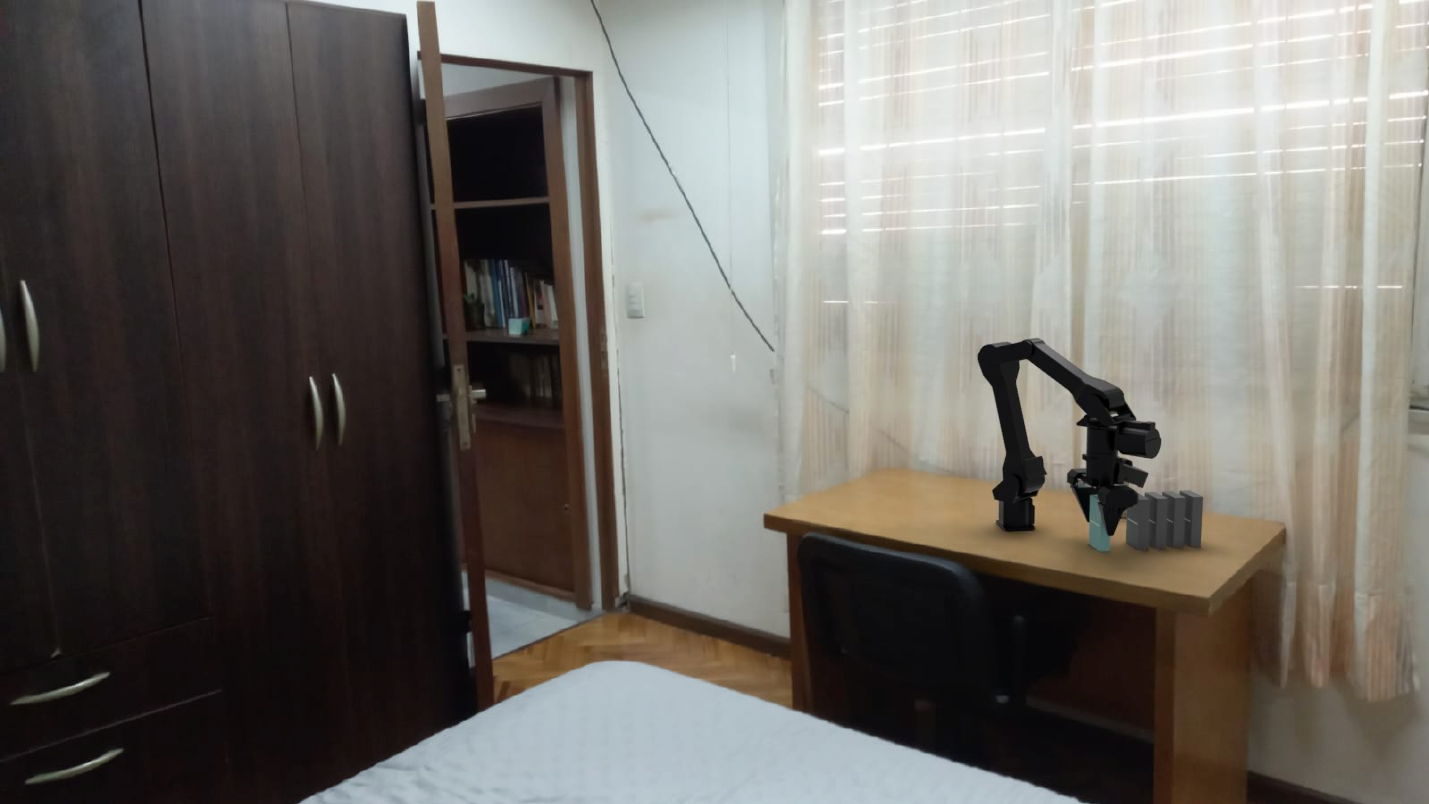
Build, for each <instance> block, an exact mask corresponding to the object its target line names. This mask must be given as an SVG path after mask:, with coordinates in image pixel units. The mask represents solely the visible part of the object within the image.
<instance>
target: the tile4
mask: <svg viewBox="0 0 1429 804" xmlns="http://www.w3.org/2000/svg"><path fill="white" fill-rule="evenodd" d="M1161 495H1162V496H1164V497H1166V498H1168V500H1167V526H1166V545H1168V546H1169V547H1171V548H1172V549H1175V548H1177V549H1179V548H1184V543H1183V542H1184V519H1185V497H1183V496H1181V495H1179V493H1177V492H1175V491H1172V490H1169V491H1167V490H1166V491H1162V492H1161Z"/></svg>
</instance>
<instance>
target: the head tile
mask: <svg viewBox="0 0 1429 804" xmlns="http://www.w3.org/2000/svg"><path fill="white" fill-rule="evenodd" d="M1097 502H1099V499H1098V495H1090V521H1089V522H1088V524H1089V527H1088V528H1089V529H1088V530H1089V532H1088V544H1089V546H1091V547H1093V548H1094V549H1095V550H1097V551H1098V552H1099V553H1100V552H1101V553H1102V552H1111V536H1108V535H1107V533H1106V530H1105V527H1104V523H1103V520H1102V517H1101V513H1100V510H1099V507H1098V503H1097Z"/></svg>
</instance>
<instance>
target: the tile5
mask: <svg viewBox="0 0 1429 804" xmlns="http://www.w3.org/2000/svg"><path fill="white" fill-rule="evenodd" d="M1178 494H1179V495H1181V496H1183V497H1185V519H1184V542H1183V544H1185V545H1187V546H1189V547H1190V548H1197V547H1199V548H1200V547H1202V533H1203V532H1202V530H1203V529H1202V527H1203V511H1204V510H1203V509H1204V508H1203V507H1204V496H1203V495H1201V494H1198V493H1197V492H1194V491H1192V490H1190V489H1186V490H1185V489H1184V490H1179V493H1178Z"/></svg>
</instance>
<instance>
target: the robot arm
mask: <svg viewBox="0 0 1429 804" xmlns="http://www.w3.org/2000/svg"><path fill="white" fill-rule="evenodd" d="M976 357H977V363H978V366H979V369H980V371H981V373H982V376H983V377H984V379H985V380H986V381H987V382H988V383H989V384H990V386H991V388H992V392H993V398H994V403H995V406H996V412H997V416H998V421H999V426H1000V431H1001V435H1002V440H1003V445H1004V450H1005V457H1004V461H1003V464H1002V467H1001V470H1002V480H1001V481H1000V482H999V483H998V484H997V485H996V486H995V487H993V489H992V490H991V492H992V495H993V499H994V501H998V519H996V520H995V524H997V525H998V527H1000V528H1001V529H1003V530H1004V531H1005V532H1007V531H1010V532H1011V531H1030V530H1032V531H1033V530H1036V526H1035V524H1036V523H1035V522H1036V517H1035V516H1036V506H1035V504H1033V503H1034V501H1033V500H1034V499H1033V497H1034V498H1035V497H1038V494H1039V491H1040V490H1041V488H1042V487H1043V486H1044V484H1045V483H1046V476H1047V475H1048V472H1047V471H1046V468H1045V463H1044V458H1043V456H1042V455H1039V456H1036V455H1035V453H1034V452H1033V451H1032V450H1031V447H1030V443H1029V437H1028V432H1027V428H1026V424H1025V423H1026V422H1025V418H1024V414H1023V411H1022V410H1023V409H1022V404H1021V400H1020V396H1019V391H1018V385H1017V380H1018V376H1019V373H1020V369H1021V367H1020V366H1021V365H1020V361H1023V360H1025V361H1026V360H1027V361H1028V362H1030V363H1031V364H1033V366H1035V367H1036V368H1038V369H1039V370H1040V371H1041V372H1043V373H1044V374H1046V375H1047V376H1048V377H1049V378H1051V379H1052V380H1054V382H1056V383H1058V384H1059V385H1060V386H1061V387H1063V388H1064V389H1065V390H1067V391H1068V393H1070V394H1071V395H1072V397H1073V399H1074V402H1075V403H1076V405H1077V406H1078V407H1079V408H1080V409H1081V410H1082V411H1083V412H1084V413H1085V414H1084V415H1083V417H1082V418H1081V419H1079V420H1078V421H1077V422H1076V423H1075V424H1076V427H1083V428H1086V443H1085V444H1086V445H1085V446H1086V447H1085V449H1086V451H1085V453H1082V455H1081V459H1082V460H1083V461H1085V468H1082V467H1081V468H1071V469H1070V470H1069V471H1068V472H1067V473H1066V483H1067V484H1070V485H1069V488H1070V489H1071V491H1072V493H1073V494H1074V496H1075V498H1076V500H1077V503H1078V505H1079V507H1080V510H1081V512H1082V514H1083V517H1084V519H1085V521H1086V522H1087V523H1089V521H1090V495H1098V499H1099V502H1097V503H1098V507H1099V510H1100V513H1101V517H1102V520H1103V523H1104V527H1105V530H1106V533H1107V535H1108V536H1110V537H1113V536H1114V535H1115V534H1116V531H1117V528H1118V527H1119V523H1120V521H1121V518H1122V517H1121V516H1122V514H1123V512H1124V511H1125V510H1126V509H1128V508H1129V507H1133V506H1134V505H1136V504H1138V493H1139V492H1137V491H1136V490H1135V489H1133V487H1130V486H1129V487H1128V486H1126V485H1123V484H1124V481H1125V482H1128V483H1129V484H1131V485H1135V486H1137V487H1138V488H1140V489H1144V486H1145V483H1146V482H1147V480H1148V476H1149V472H1148V471H1146V470H1143V469H1141V468H1139V467H1136V466H1134V464H1133V461H1132V460H1131V459H1128V458H1125V457H1122V456H1119V454H1121V455H1125V456H1131V457H1135V458H1136V457H1137V458H1142V459H1150V460H1153V459H1155V458H1156V457H1157V456H1158V454H1159V453H1160V450H1161V447H1162V437H1161V434H1160V431H1159V430H1158V429H1157V428H1156V422H1155V421H1150V420H1148V421H1143V420H1142V421H1140V420H1137V417H1136V415H1135V414H1134V412H1133V411H1132V409H1131V408H1130V406H1129V404H1128V403H1127V401H1126V399H1125V392H1124V391H1123V390H1122V388H1120V387H1119V386H1117V385H1115V384H1113V383H1111V382H1109V381H1106V380H1104V379H1101V378H1099V377H1094V376H1092V375H1089V374H1088V373H1086V372H1085V371H1083V370H1082V369H1081V368H1079V367H1078V366H1077V365H1076V364H1074V363H1073V362H1071V361H1070V360H1069V359H1067V358H1066V357H1064V356H1063V355H1062V354H1061V353H1059V352H1057V351H1056V350H1055V349H1053V348H1052V347H1051V346H1049V345H1048V344H1047V343H1046V342H1045V341H1044V340H1043V339H1041V338H1039V337H1032V338H1027V339H1025V338H1024V339H1023V340H1021V341H1018V342H1014V343H1012V342H1009V341H1001V342H994V343H987V344H985V345H983V346H982V347H981V348H980V349H979V351H978V352H977V355H976ZM1115 484H1118V485H1117V486H1115Z"/></svg>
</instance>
